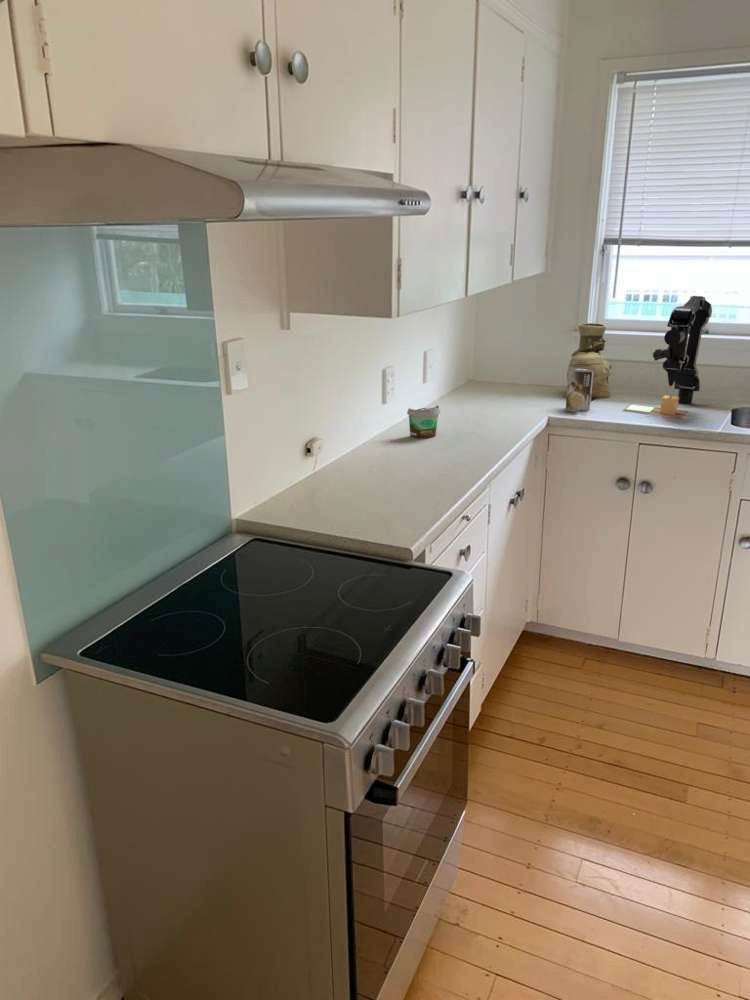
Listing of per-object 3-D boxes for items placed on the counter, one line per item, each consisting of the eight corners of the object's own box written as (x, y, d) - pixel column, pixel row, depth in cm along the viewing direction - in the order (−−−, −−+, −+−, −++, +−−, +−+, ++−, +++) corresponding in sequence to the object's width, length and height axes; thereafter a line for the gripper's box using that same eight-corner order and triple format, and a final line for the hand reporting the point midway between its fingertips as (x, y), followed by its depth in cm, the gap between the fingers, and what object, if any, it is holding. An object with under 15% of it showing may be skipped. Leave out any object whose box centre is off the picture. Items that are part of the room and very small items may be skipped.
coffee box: (590, 409, 295) (595, 369, 290) (588, 413, 290) (593, 372, 284) (566, 407, 299) (570, 367, 293) (564, 411, 293) (568, 370, 287)
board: (629, 406, 301) (630, 404, 301) (687, 413, 291) (688, 411, 290) (621, 413, 290) (621, 411, 289) (681, 421, 279) (681, 418, 279)
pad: (631, 405, 298) (631, 404, 298) (654, 408, 294) (654, 407, 294) (625, 410, 291) (625, 409, 291) (649, 413, 287) (649, 412, 287)
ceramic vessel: (622, 395, 320) (631, 324, 309) (596, 403, 306) (604, 329, 295) (582, 388, 332) (590, 320, 322) (556, 395, 319) (563, 324, 308)
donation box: (662, 410, 291) (664, 395, 289) (676, 412, 288) (679, 396, 286) (659, 413, 287) (662, 397, 284) (674, 415, 284) (676, 399, 282)
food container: (415, 441, 252) (416, 412, 248) (406, 436, 257) (407, 408, 253) (446, 436, 257) (447, 408, 254) (436, 432, 262) (437, 404, 259)
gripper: (661, 337, 289) (655, 377, 295) (651, 343, 274) (645, 385, 280) (691, 339, 284) (685, 380, 289) (683, 346, 269) (676, 389, 274)
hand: (672, 383), depth 283 cm, fingers open, 9 cm apart
